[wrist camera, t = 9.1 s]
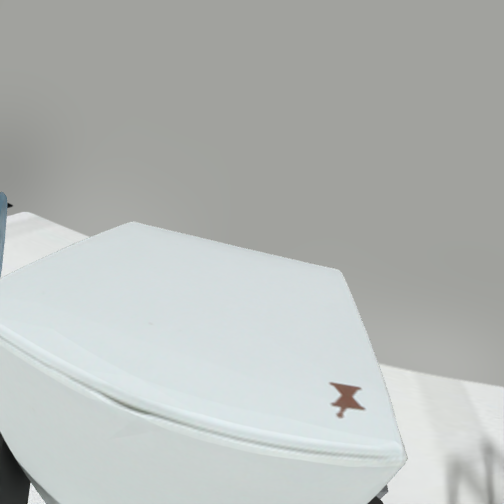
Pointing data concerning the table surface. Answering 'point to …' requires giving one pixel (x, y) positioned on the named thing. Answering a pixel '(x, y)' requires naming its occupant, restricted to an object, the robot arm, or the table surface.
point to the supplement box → (190, 376)
